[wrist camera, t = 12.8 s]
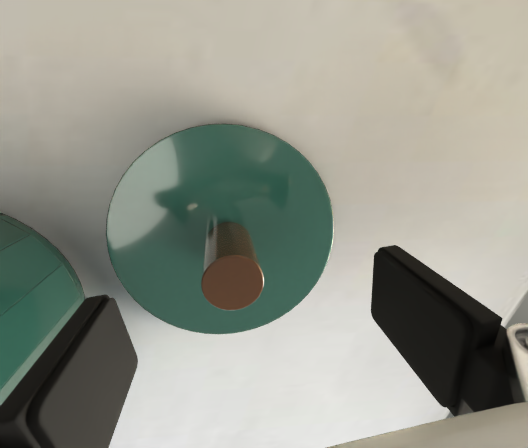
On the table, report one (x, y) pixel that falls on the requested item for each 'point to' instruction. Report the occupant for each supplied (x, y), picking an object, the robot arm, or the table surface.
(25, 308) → the pot
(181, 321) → the lid
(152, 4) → the table surface
